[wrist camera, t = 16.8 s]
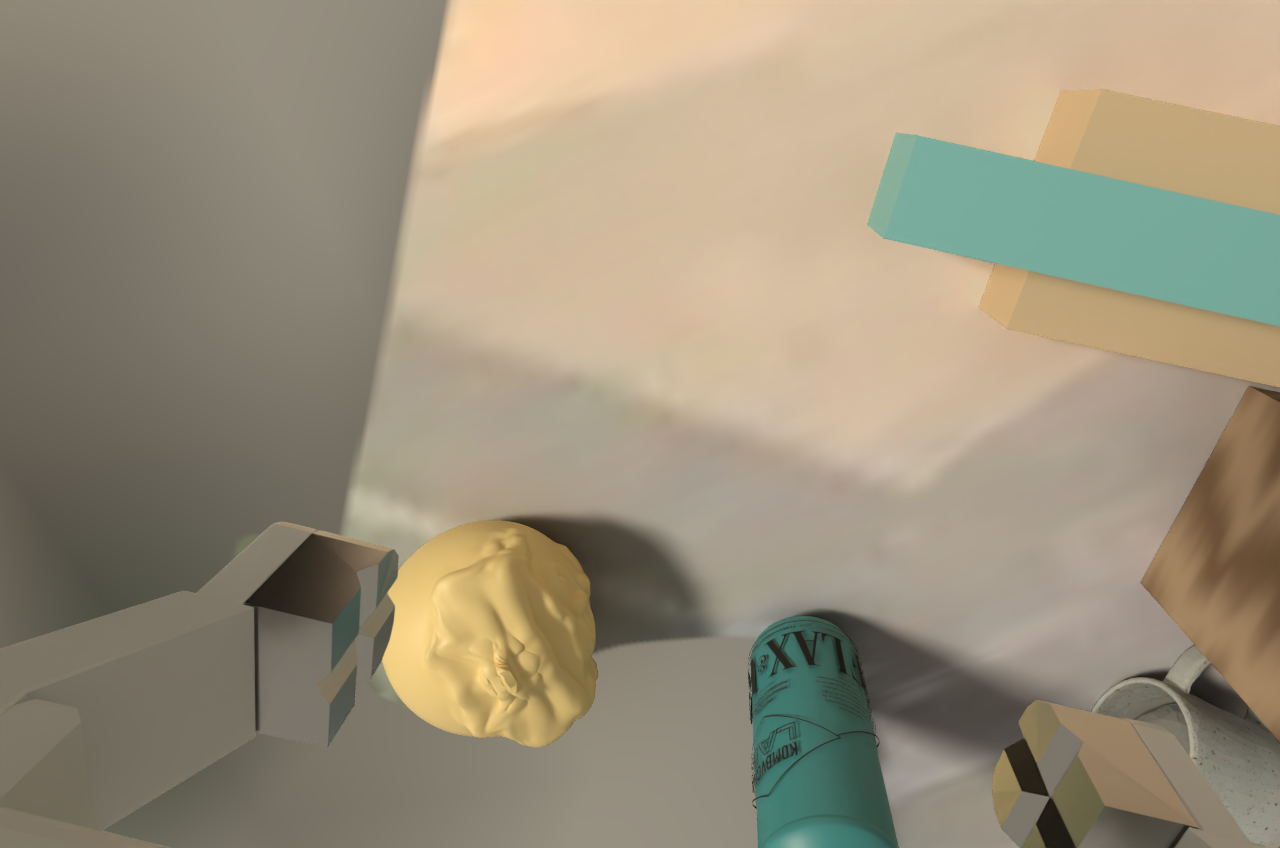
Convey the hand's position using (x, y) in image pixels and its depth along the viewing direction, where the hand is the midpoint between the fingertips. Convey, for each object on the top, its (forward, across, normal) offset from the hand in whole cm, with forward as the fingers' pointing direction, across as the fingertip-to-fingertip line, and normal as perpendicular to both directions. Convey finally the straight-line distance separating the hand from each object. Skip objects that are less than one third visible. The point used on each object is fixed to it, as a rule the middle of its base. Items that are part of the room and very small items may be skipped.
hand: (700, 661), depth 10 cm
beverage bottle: (+31, -10, +22) cm, 39 cm away
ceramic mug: (+31, -32, +21) cm, 49 cm away
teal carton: (+27, -17, -5) cm, 32 cm away
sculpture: (+31, +8, +22) cm, 39 cm away
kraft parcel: (+31, -21, -5) cm, 38 cm away
